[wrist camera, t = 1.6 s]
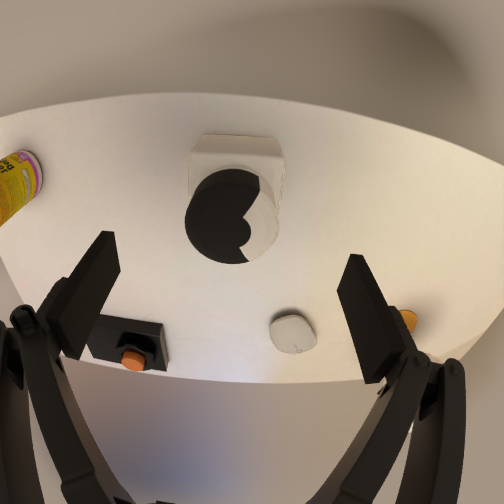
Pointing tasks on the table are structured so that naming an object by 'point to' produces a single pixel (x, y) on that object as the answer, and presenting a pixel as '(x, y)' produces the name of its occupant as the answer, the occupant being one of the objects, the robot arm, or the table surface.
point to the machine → (128, 341)
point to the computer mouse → (292, 334)
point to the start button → (133, 361)
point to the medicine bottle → (234, 196)
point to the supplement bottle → (18, 182)
